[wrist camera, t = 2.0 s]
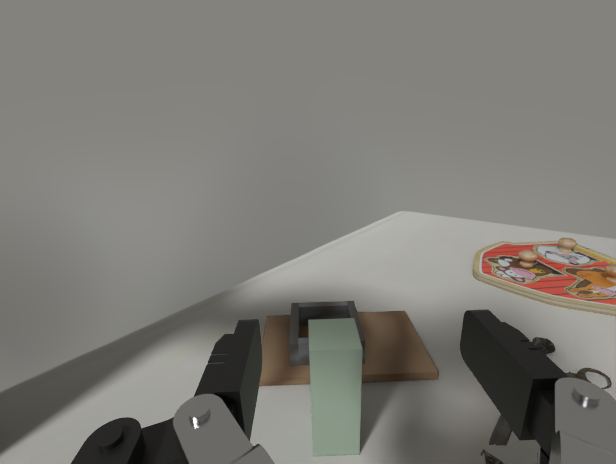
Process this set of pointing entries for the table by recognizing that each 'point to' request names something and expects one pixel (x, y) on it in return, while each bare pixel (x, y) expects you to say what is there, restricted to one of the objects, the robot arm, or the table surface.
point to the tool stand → (373, 336)
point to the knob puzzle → (551, 273)
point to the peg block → (335, 386)
